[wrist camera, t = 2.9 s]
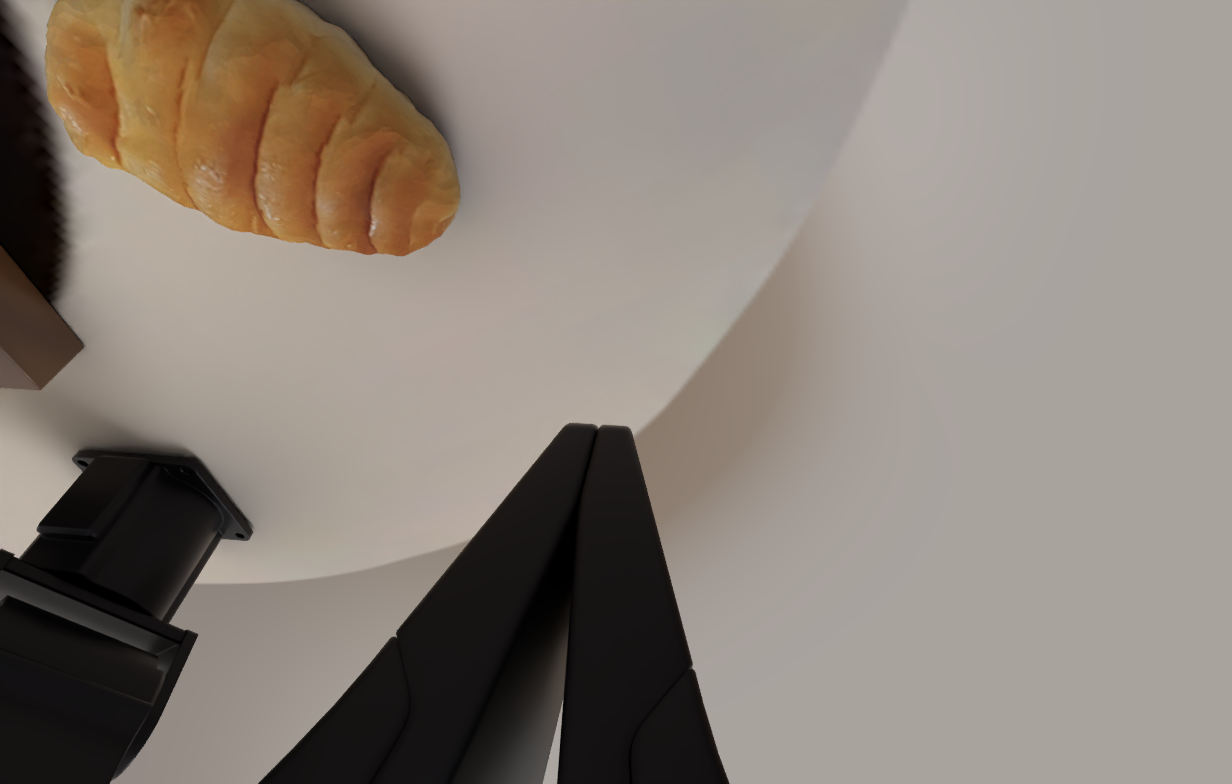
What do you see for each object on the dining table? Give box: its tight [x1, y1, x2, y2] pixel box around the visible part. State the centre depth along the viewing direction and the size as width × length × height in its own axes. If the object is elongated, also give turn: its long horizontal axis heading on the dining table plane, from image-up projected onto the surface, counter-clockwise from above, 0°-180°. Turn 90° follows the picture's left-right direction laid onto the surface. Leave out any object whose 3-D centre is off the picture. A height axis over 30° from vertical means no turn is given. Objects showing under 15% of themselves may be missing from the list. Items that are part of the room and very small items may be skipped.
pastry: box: [45, 0, 461, 256], centre depth 17 cm, size 9×7×4 cm
